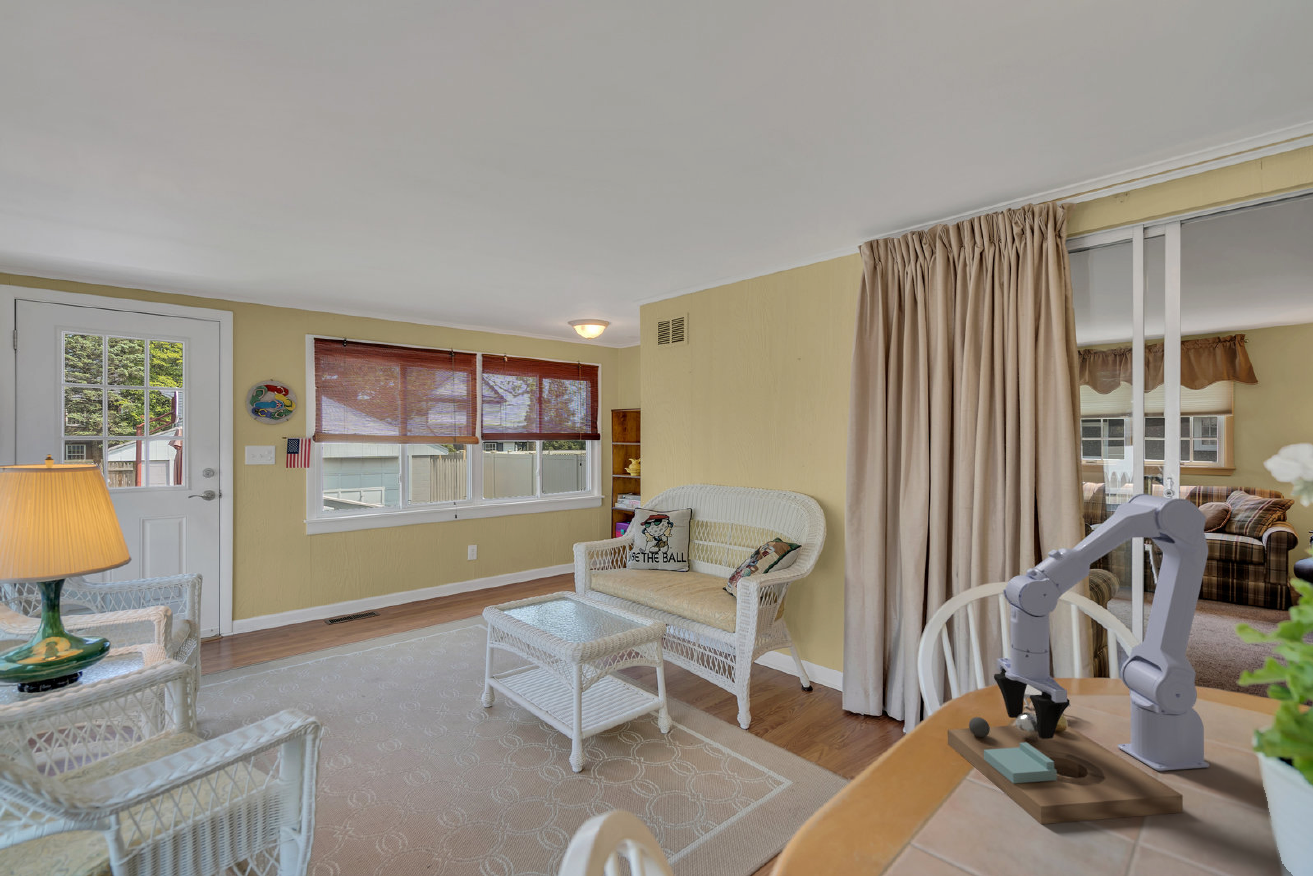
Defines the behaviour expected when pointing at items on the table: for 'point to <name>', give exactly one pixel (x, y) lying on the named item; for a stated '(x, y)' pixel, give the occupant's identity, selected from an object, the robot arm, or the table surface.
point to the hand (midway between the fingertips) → (1029, 727)
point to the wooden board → (1093, 792)
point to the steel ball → (1027, 726)
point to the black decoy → (979, 727)
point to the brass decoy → (1061, 724)
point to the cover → (1021, 764)
